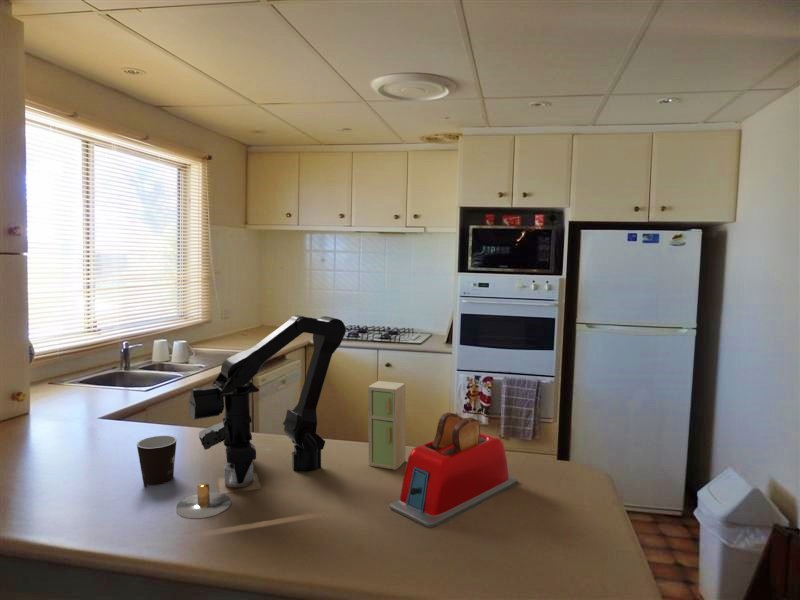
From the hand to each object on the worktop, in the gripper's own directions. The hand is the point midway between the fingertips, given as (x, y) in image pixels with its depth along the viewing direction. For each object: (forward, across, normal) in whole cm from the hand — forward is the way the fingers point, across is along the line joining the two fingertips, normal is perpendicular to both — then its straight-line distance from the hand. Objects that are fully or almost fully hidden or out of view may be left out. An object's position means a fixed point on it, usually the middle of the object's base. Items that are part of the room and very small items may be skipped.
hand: (239, 477), depth 129 cm
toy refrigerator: (+2, -1, +37) cm, 37 cm away
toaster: (+3, +21, +46) cm, 51 cm away
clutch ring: (+1, 0, 0) cm, 1 cm away
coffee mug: (+2, -10, -17) cm, 20 cm away
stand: (+2, 0, 0) cm, 2 cm away
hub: (+2, +9, -8) cm, 12 cm away
